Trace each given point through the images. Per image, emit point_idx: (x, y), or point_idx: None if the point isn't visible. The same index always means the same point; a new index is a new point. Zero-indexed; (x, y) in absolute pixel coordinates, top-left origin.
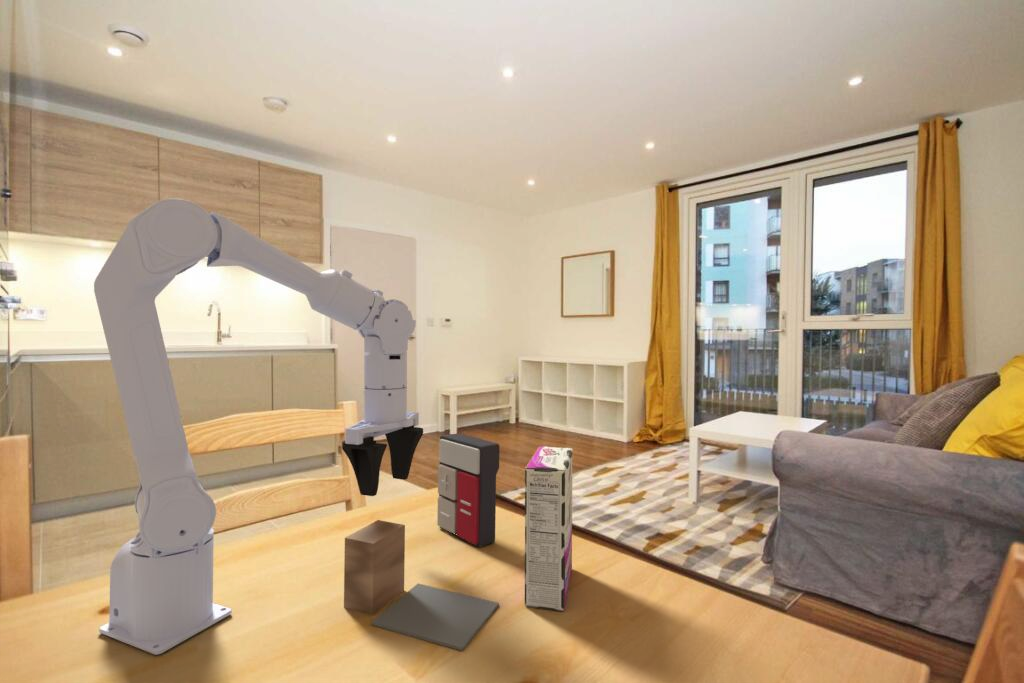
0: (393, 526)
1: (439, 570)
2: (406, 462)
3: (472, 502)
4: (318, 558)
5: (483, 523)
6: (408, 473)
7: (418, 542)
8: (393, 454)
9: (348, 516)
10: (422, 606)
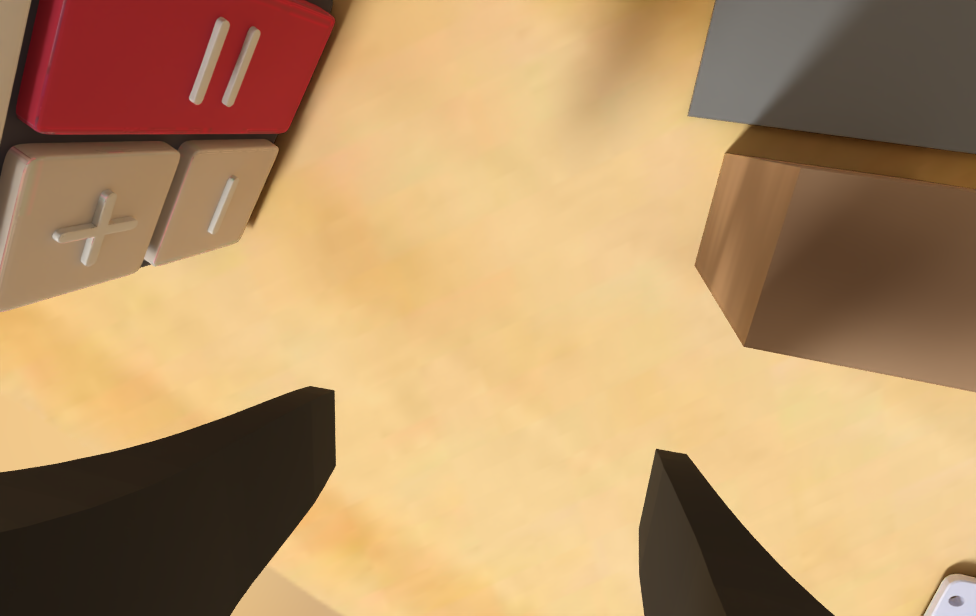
0: (834, 223)
1: (553, 88)
2: (264, 445)
3: (213, 3)
4: (571, 508)
5: None
6: (293, 394)
7: (371, 259)
8: (236, 579)
9: (280, 548)
10: (860, 17)
